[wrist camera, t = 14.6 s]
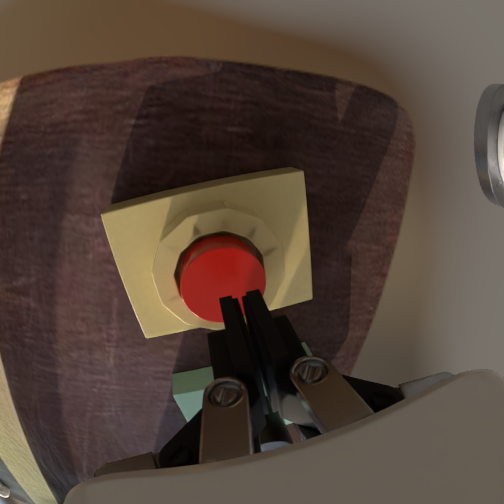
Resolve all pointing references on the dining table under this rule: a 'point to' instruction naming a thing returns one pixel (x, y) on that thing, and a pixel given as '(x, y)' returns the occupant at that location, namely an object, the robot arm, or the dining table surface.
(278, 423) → the knob
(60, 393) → the dining table surface
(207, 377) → the dial panel
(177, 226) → the button block
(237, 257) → the button
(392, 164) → the dining table surface
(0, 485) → the garlic
